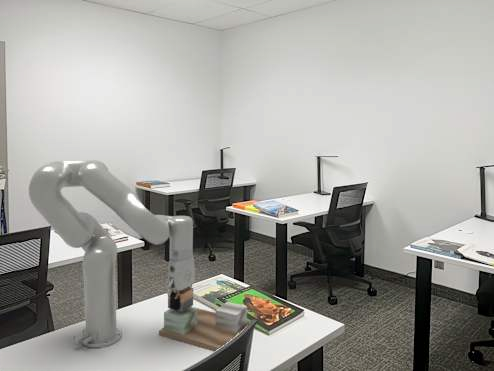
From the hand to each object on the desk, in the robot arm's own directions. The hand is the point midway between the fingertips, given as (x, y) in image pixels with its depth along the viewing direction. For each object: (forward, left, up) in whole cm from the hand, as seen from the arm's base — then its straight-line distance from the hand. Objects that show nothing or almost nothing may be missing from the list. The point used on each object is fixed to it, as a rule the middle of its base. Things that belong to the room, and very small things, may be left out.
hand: (180, 304), depth 142 cm
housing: (0, 0, -1) cm, 1 cm away
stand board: (+5, -7, -9) cm, 13 cm away
